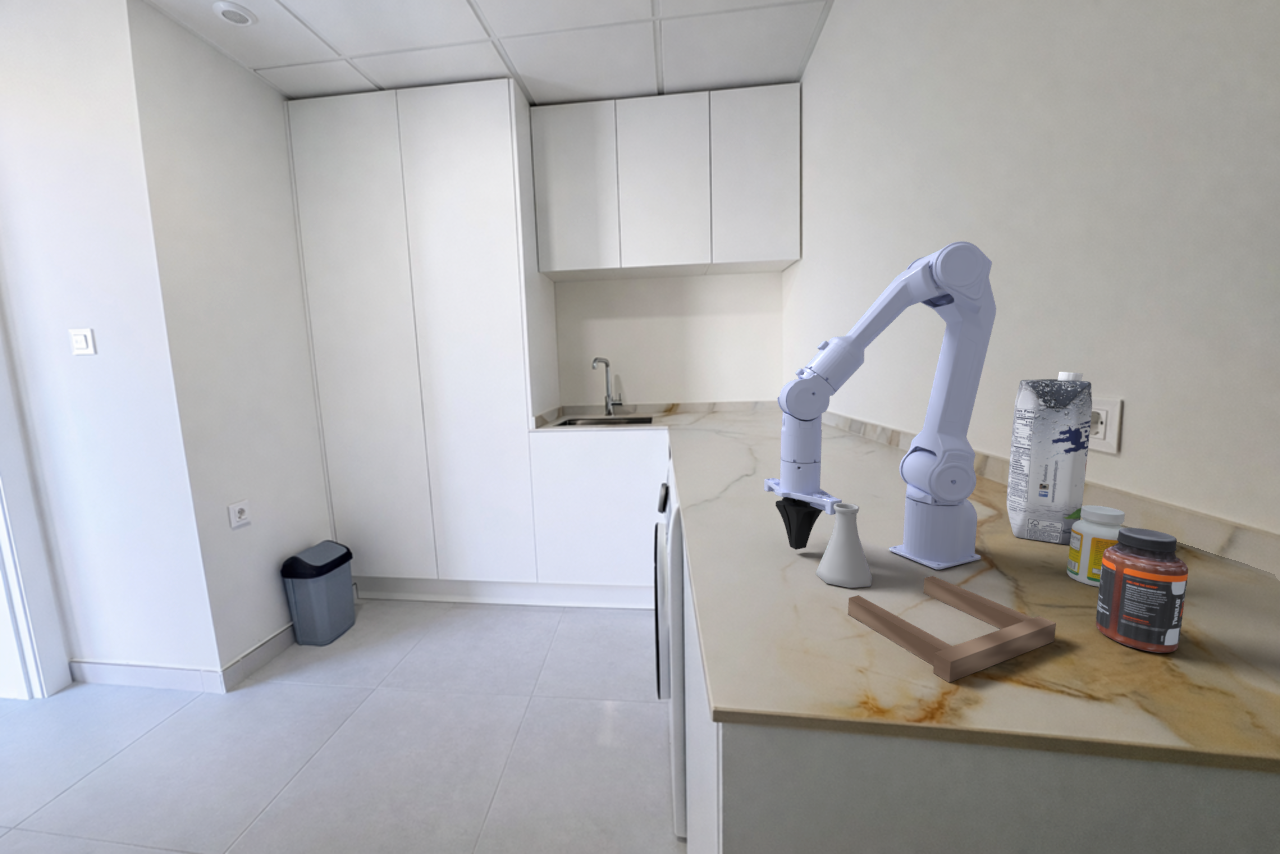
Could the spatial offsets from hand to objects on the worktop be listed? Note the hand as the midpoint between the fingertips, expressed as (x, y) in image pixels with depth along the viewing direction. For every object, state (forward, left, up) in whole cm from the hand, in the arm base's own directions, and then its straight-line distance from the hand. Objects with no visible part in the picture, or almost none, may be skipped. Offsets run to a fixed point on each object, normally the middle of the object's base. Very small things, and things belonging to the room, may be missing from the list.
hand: (798, 547), depth 72 cm
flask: (0, +9, -1) cm, 9 cm away
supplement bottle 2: (-16, +32, -1) cm, 36 cm away
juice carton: (-42, +10, -1) cm, 43 cm away
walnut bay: (0, +22, -1) cm, 22 cm away
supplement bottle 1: (-29, +23, -1) cm, 37 cm away
